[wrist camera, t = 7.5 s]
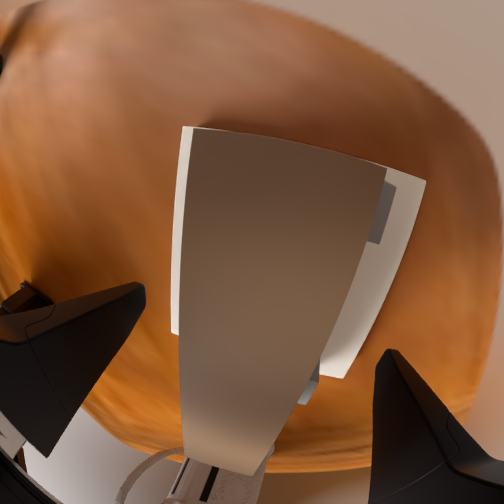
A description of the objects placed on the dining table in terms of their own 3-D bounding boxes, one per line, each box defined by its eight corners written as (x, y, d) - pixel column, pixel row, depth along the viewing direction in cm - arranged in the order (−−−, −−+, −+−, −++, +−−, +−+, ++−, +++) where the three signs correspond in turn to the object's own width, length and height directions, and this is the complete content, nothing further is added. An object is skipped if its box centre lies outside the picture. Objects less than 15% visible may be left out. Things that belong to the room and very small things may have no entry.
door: (278, 369, 15) (252, 476, 9) (229, 356, 15) (184, 456, 9) (341, 152, 10) (387, 168, 3) (267, 135, 10) (193, 128, 4)
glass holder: (219, 456, 26) (180, 552, 13) (147, 385, 22) (70, 504, 9) (286, 457, 23) (257, 572, 10) (223, 381, 19) (146, 553, 6)
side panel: (342, 361, 16) (342, 416, 12) (181, 319, 17) (149, 362, 14) (415, 176, 11) (456, 194, 7) (196, 127, 12) (147, 124, 8)
